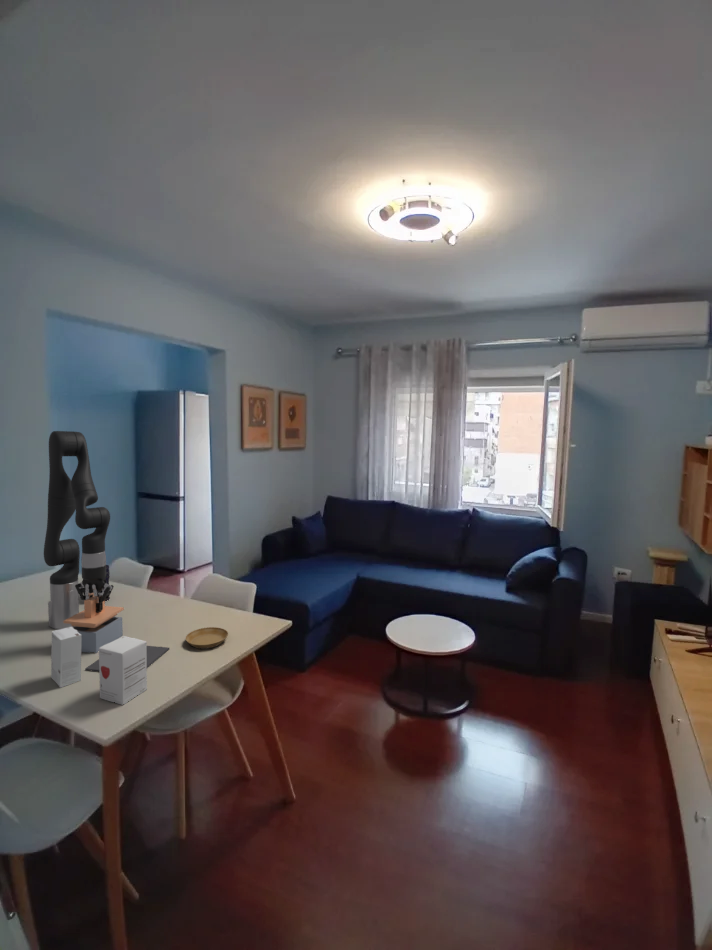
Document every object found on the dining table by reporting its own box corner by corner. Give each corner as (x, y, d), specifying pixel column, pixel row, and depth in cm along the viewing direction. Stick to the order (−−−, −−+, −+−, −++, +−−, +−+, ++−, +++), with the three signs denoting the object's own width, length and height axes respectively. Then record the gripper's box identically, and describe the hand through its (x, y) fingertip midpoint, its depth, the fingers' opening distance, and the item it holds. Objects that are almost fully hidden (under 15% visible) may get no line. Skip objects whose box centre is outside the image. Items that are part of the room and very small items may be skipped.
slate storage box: (96, 653, 156) (95, 633, 156) (67, 650, 158) (66, 630, 157) (122, 635, 170) (122, 617, 169) (95, 633, 171) (95, 615, 171)
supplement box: (98, 698, 130) (97, 647, 128) (124, 683, 138) (123, 634, 137) (122, 706, 126) (121, 653, 125) (148, 689, 135) (147, 640, 134)
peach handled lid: (95, 630, 155) (95, 606, 154) (63, 627, 157) (62, 603, 156) (123, 613, 170) (123, 591, 169) (94, 610, 171) (93, 589, 171)
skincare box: (50, 678, 140) (49, 631, 138) (73, 671, 144) (71, 625, 143) (60, 688, 134) (59, 639, 133) (83, 680, 139) (81, 633, 138)
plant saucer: (206, 655, 157) (206, 648, 157) (176, 645, 164) (176, 638, 164) (236, 639, 170) (236, 632, 169) (208, 630, 177) (208, 624, 176)
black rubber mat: (85, 670, 145) (85, 668, 145) (121, 645, 163) (121, 643, 162) (138, 675, 142) (138, 673, 142) (169, 649, 160) (169, 647, 160)
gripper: (67, 565, 159) (69, 614, 160) (104, 568, 157) (105, 617, 158) (83, 560, 166) (84, 606, 168) (119, 562, 164) (119, 609, 166)
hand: (94, 611), depth 163 cm, fingers closed on peach handled lid, 2 cm apart
